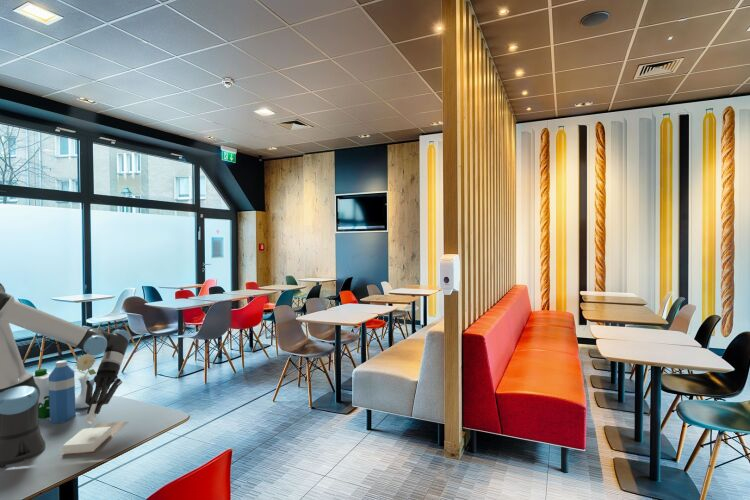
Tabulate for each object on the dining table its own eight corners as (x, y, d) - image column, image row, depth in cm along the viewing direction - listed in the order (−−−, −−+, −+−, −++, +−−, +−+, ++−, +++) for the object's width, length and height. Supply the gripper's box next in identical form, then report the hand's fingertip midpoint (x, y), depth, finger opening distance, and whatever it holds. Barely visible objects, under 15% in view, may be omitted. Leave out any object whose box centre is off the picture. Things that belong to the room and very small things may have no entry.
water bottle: (80, 417, 176) (78, 360, 175) (54, 425, 168) (52, 366, 167) (71, 412, 181) (69, 357, 180) (45, 420, 173) (43, 362, 172)
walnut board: (58, 457, 143) (58, 455, 143) (98, 425, 168) (98, 423, 168) (94, 454, 144) (94, 452, 144) (128, 423, 169) (128, 421, 169)
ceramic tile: (83, 428, 156) (62, 445, 143) (111, 426, 157) (93, 443, 145) (83, 437, 156) (62, 454, 143) (111, 434, 157) (93, 452, 145)
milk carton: (47, 410, 184) (46, 366, 183) (64, 411, 182) (62, 367, 181) (27, 418, 175) (26, 373, 174) (44, 420, 173) (43, 374, 173)
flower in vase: (63, 409, 184) (61, 355, 184) (87, 399, 195) (86, 348, 194) (83, 412, 180) (82, 357, 180) (107, 403, 191) (106, 350, 190)
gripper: (130, 368, 171) (111, 424, 155) (97, 370, 169) (74, 427, 153) (124, 359, 166) (104, 417, 150) (89, 361, 164) (66, 419, 148)
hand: (89, 422), depth 151 cm, fingers closed
